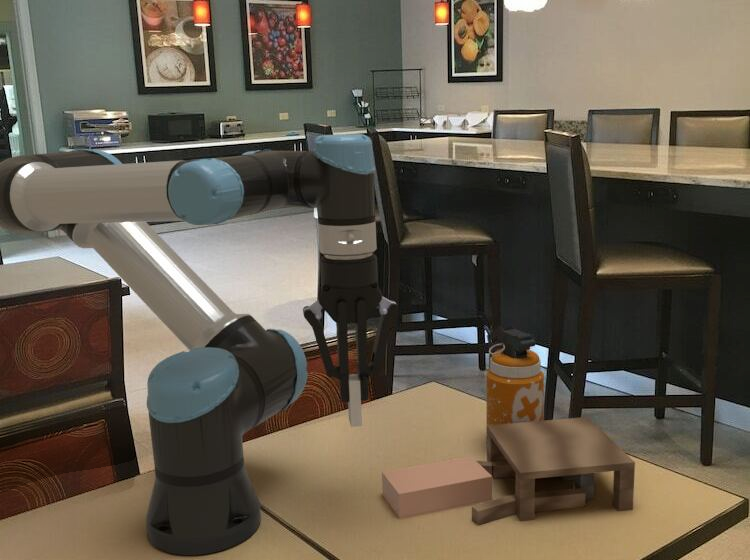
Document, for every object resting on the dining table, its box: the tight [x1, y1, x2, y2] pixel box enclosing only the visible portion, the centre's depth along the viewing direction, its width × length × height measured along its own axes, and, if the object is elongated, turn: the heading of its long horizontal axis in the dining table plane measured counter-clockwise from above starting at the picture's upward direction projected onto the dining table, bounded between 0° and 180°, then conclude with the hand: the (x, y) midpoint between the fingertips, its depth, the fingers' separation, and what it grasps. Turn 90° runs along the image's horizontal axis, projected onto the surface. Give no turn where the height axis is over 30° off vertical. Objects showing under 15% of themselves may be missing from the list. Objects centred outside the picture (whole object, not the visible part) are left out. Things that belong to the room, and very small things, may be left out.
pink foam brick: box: [381, 455, 493, 520], centre depth 113 cm, size 14×7×4 cm, turn 109°
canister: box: [485, 324, 545, 445], centre depth 127 cm, size 9×11×20 cm
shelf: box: [449, 416, 636, 526], centre depth 114 cm, size 22×16×7 cm
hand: (355, 422), depth 109 cm, fingers closed
